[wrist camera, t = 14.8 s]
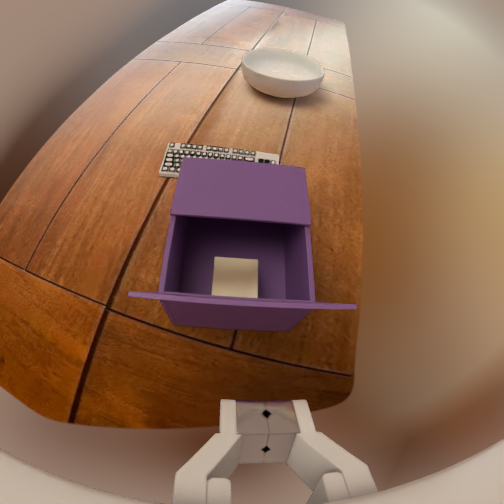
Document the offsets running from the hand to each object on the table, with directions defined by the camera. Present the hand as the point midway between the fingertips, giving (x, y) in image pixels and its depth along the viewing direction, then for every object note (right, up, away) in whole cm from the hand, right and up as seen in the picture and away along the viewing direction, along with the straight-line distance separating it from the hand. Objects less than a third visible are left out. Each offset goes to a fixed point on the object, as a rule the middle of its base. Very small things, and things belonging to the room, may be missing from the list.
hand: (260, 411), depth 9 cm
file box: (-2, +4, +26) cm, 26 cm away
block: (-2, +1, +24) cm, 24 cm away
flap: (-1, +3, +10) cm, 10 cm away
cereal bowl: (+5, +40, +47) cm, 62 cm away
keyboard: (-5, +18, +34) cm, 38 cm away
